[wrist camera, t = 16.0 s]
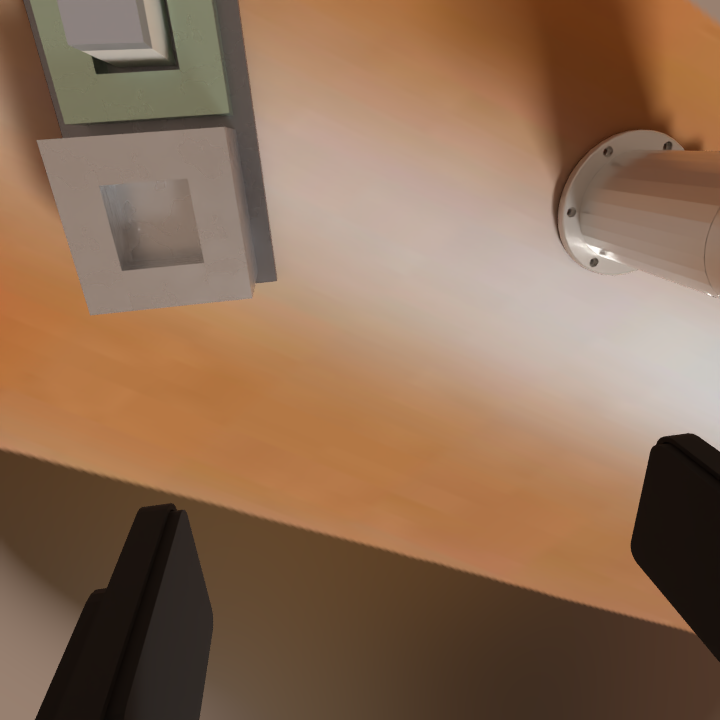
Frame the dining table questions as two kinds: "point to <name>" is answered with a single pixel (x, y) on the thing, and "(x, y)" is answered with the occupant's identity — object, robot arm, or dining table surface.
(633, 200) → the robot arm
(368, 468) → the dining table surface
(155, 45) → the plug
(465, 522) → the dining table surface
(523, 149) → the dining table surface
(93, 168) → the peg insertion board
